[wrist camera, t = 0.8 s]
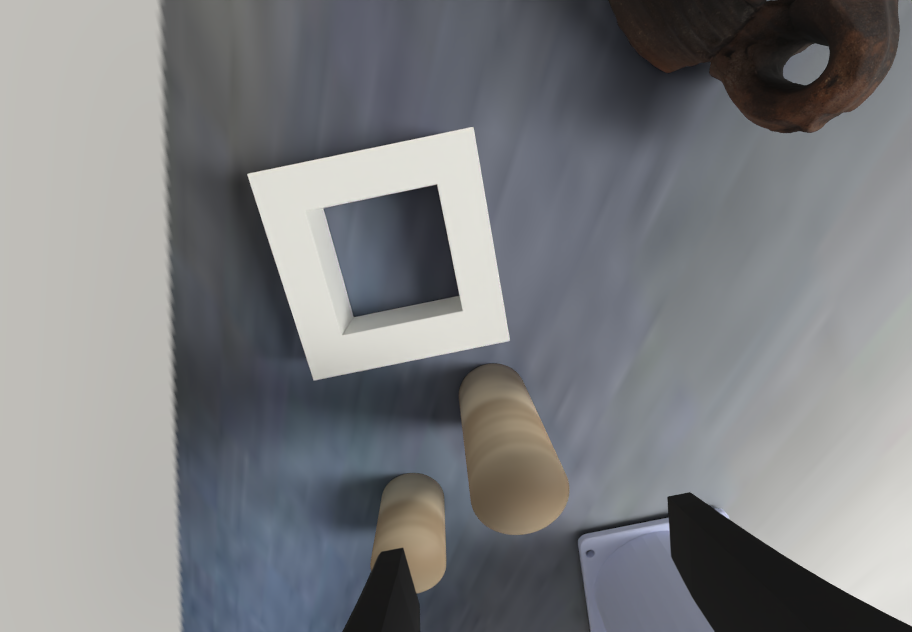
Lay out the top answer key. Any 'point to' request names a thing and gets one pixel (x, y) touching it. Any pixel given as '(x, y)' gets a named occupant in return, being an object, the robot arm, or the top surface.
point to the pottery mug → (770, 50)
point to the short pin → (414, 527)
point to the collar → (318, 272)
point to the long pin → (509, 454)
